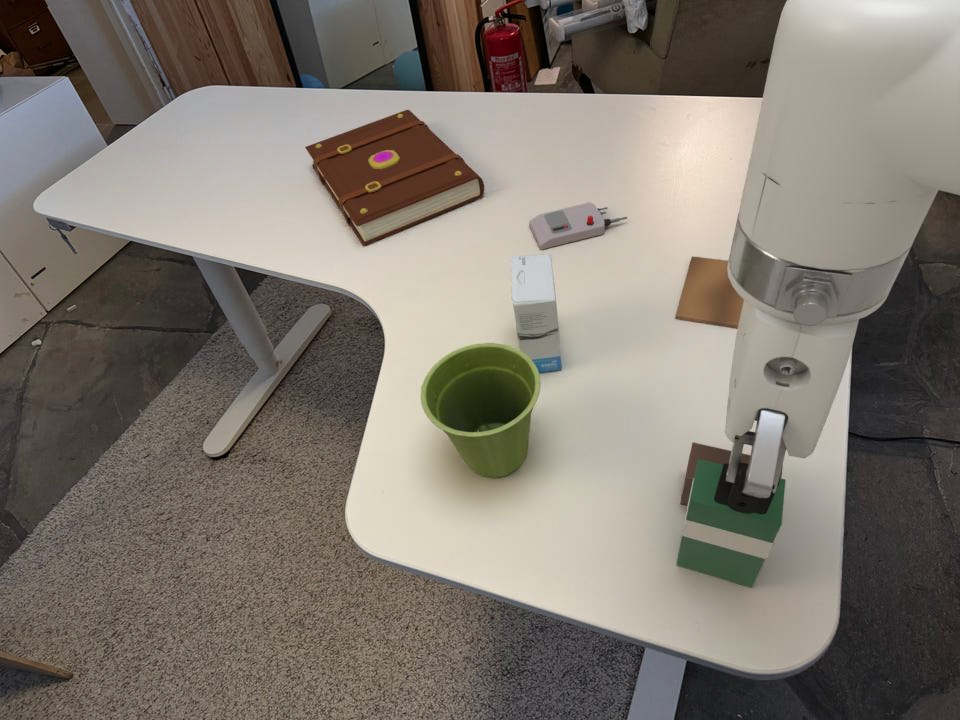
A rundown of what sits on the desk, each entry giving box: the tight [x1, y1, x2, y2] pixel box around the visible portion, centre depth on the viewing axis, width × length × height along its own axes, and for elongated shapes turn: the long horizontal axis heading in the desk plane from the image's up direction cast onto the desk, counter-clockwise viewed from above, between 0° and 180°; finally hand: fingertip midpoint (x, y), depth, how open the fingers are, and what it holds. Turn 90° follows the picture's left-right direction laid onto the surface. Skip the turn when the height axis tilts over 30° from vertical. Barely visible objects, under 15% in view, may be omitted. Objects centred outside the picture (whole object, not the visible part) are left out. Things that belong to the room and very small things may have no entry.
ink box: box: [510, 252, 562, 374], centre depth 72 cm, size 8×5×12 cm, turn 179°
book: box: [304, 109, 485, 247], centre depth 108 cm, size 23×32×5 cm
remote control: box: [528, 202, 628, 251], centre depth 91 cm, size 7×16×3 cm, turn 101°
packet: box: [676, 459, 787, 589], centre depth 51 cm, size 9×7×12 cm
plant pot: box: [420, 342, 542, 479], centre depth 63 cm, size 12×12×11 cm
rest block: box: [679, 442, 784, 507], centre depth 57 cm, size 8×4×5 cm, turn 68°
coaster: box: [675, 256, 744, 329], centre depth 77 cm, size 12×12×1 cm
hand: (747, 445), depth 42 cm, fingers open, 9 cm apart
